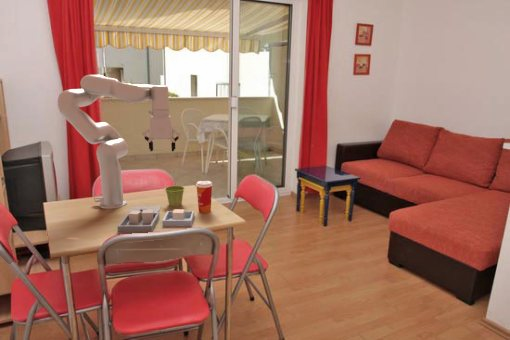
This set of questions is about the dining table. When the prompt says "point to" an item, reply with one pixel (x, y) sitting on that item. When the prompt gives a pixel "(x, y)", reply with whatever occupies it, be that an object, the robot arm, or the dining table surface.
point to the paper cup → (204, 196)
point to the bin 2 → (170, 222)
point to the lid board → (144, 208)
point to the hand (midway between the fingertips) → (162, 150)
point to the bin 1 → (137, 225)
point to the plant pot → (175, 195)
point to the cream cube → (179, 214)
